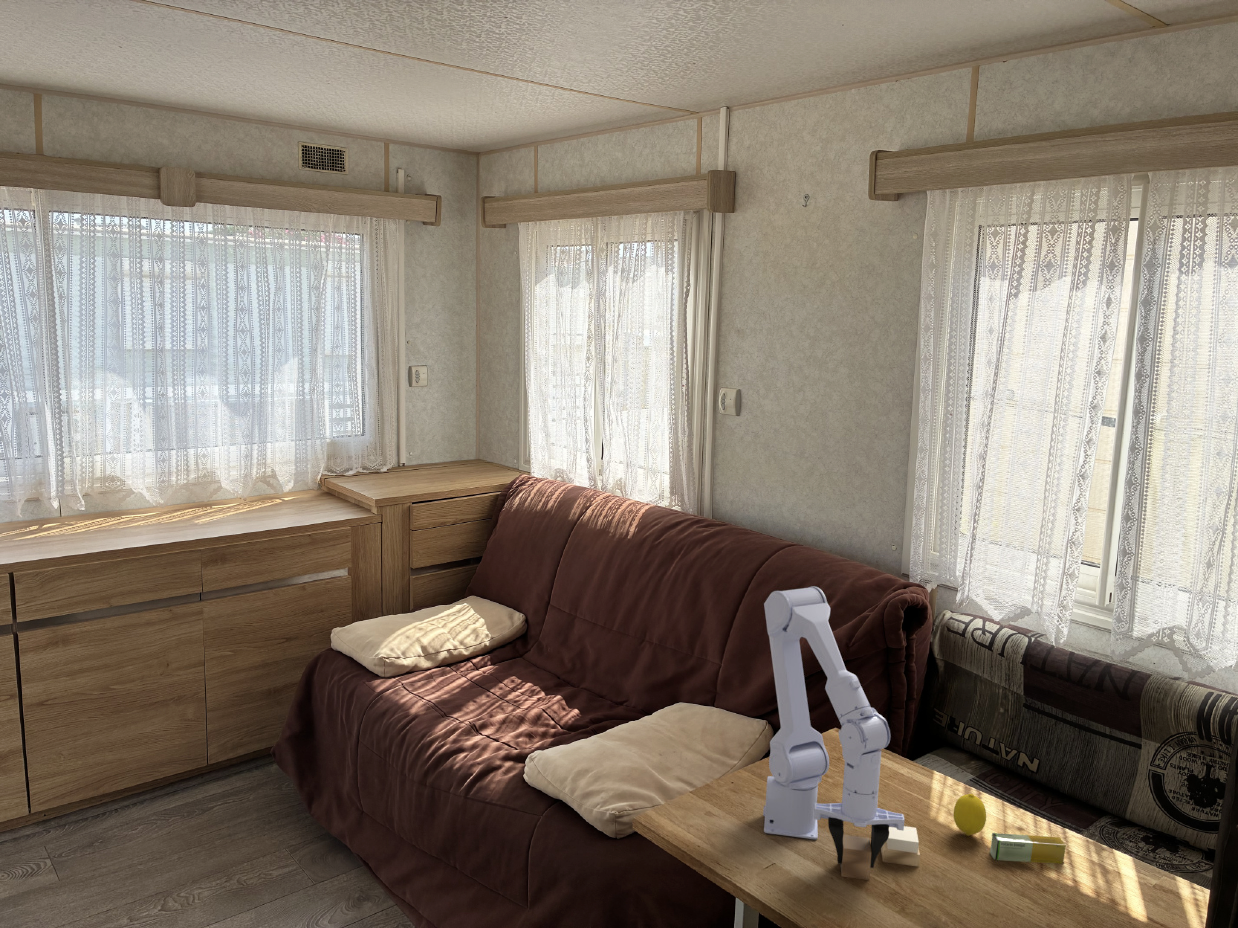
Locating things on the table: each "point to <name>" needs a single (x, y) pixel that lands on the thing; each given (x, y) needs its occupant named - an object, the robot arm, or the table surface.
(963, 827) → the lemon
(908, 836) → the cream block
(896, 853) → the oak base block
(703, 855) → the table surface
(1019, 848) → the medication box
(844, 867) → the walnut block
